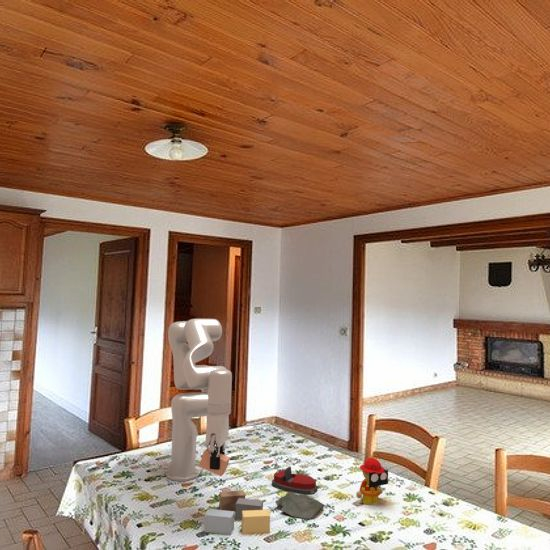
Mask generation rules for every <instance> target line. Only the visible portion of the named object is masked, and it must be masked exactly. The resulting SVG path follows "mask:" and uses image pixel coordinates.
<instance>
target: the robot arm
mask: <svg viewBox="0 0 550 550" xmlns="http://www.w3.org/2000/svg"><path fill="white" fill-rule="evenodd" d="M168 327H169V328H168V332H167V337H168V342H169V347H170V349H171V352H172V356H173V357H172V358H173V360H172V361H173V380H174V385H175V388H176V389H178V390H182V391H183V390H184V391H185V390H194V391H195V392H182V393H178V394H176V395H174V396H173V397H172V398H171V403H170V408H171V419H172V428H171V432H172V434H171V450H170V451H171V456H170V457H171V458H170V462H167V461H162V462H161V463H160V464H161V465H160V466H161V469H162V470H167V471H166V472H165V473H166V475H165V476H166V478H167V479H168V478H169V479H168V480H170V479H171V480H170V481H174V480H175V481H176V482H186V481H191V480H195V479H197V478H198V477H199V476H200V470H199V469H197V468H196V463H197V462H196V461H197V460H196V459H197V437H198V436H197V435H198V430H197V425H196V424H195V423H194V422H193V421H192V419H194V418H199V417H200V418H201V417H207V420H206V422H207V423H206V431H205V443H204V445H205V447H207V448H209V452H210V469H213V470H219V469H220V456H219V453H221V454H223V455H226V452H225V451H226V442H227V441H228V440H229V432H230V431H229V429H230V427H229V426H230V425H229V423H230V420H229V418H230V417H229V415H230V414H231V413H232V409H231V408H232V390H233V389H232V385H233V384H232V382H233V381H232V380H233V373H232V371H231V370H229V369H227V368H226V367H225V366H223V365H208V364H207V365H206V364H196V363H199V362H201V361H203V360H205V359H207V358H208V357H209V356H211V355H212V354H213V352H214V343H213V342H216V341H219V340H220V339H221V338H222V334H223V327H222V324H221V323H220V321H219V319H216V318H191V319H188V320H183V321H181V320H180V321H175V322H173V323H171V324H170V325H169V326H168ZM197 390H198V392H196V391H197ZM199 390H201V391H199Z"/></svg>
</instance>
